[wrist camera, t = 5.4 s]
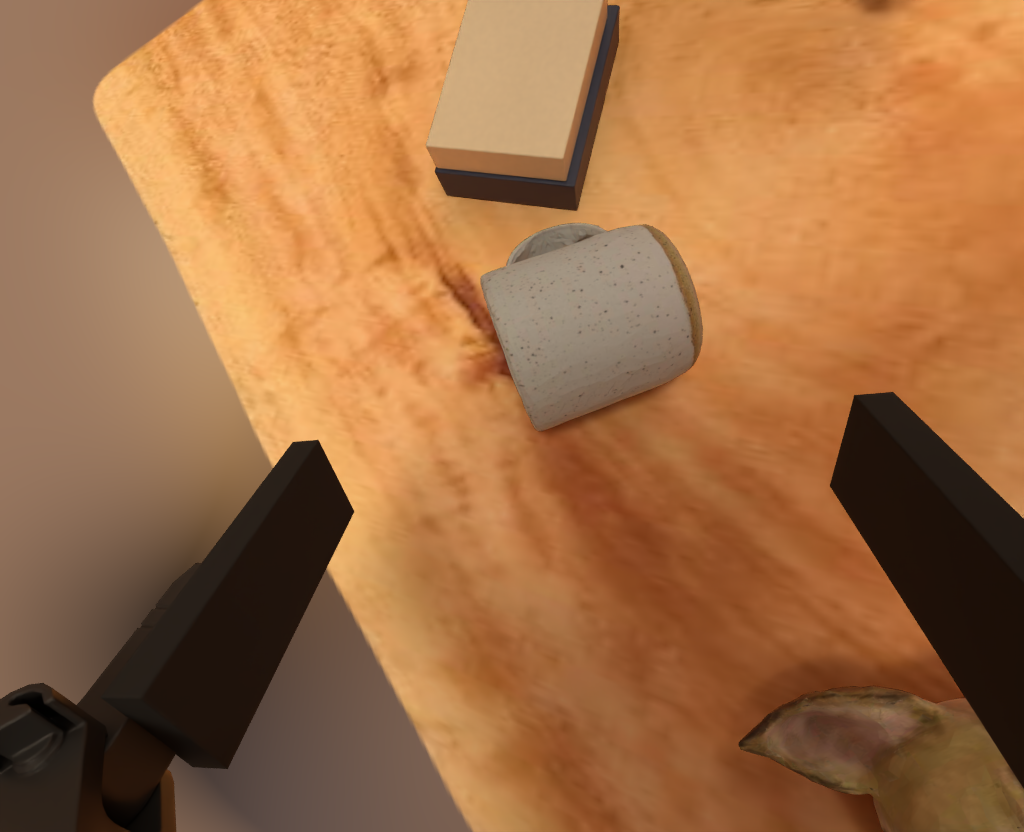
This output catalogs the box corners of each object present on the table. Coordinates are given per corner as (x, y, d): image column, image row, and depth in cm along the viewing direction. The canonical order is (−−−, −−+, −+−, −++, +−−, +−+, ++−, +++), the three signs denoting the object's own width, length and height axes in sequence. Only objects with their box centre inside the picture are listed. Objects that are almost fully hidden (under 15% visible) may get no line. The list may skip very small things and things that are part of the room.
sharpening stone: (491, 37, 30) (474, -31, 26) (618, 41, 28) (620, -31, 25) (446, 195, 29) (422, 149, 25) (577, 211, 27) (572, 163, 23)
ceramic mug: (695, 385, 24) (734, 331, 17) (544, 443, 25) (517, 417, 18) (614, 215, 27) (617, 102, 19) (480, 273, 28) (433, 188, 20)
